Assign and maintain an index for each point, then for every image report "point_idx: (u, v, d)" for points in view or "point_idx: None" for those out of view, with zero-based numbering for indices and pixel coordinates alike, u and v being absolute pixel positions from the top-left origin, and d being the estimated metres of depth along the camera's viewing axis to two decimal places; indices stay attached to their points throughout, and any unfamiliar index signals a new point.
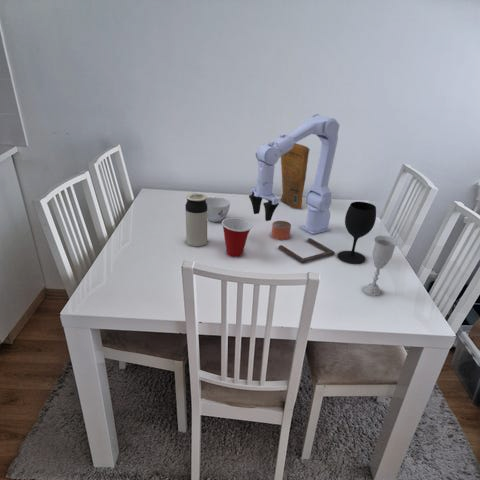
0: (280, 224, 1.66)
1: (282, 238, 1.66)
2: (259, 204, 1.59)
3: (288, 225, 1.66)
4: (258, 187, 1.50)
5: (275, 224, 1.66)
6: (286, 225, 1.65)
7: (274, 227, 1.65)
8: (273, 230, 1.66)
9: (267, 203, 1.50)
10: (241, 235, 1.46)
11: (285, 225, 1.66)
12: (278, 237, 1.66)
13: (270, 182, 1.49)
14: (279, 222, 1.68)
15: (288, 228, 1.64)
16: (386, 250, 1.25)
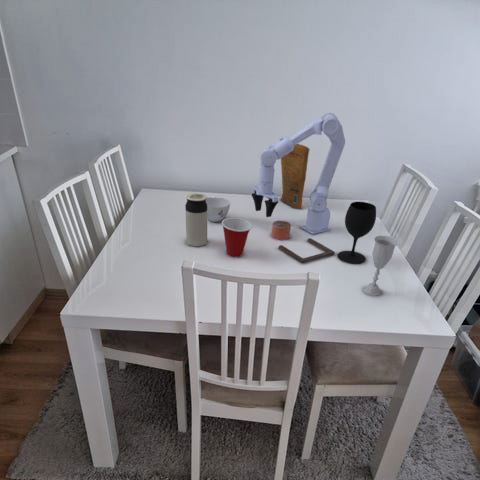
0: (280, 224, 1.66)
1: (282, 238, 1.66)
2: (260, 202, 1.76)
3: (288, 225, 1.66)
4: (260, 186, 1.67)
5: (275, 224, 1.66)
6: (286, 225, 1.65)
7: (274, 227, 1.65)
8: (273, 230, 1.66)
9: (268, 201, 1.66)
10: (241, 235, 1.46)
11: (285, 225, 1.66)
12: (278, 237, 1.66)
13: (271, 182, 1.65)
14: (279, 222, 1.68)
15: (288, 228, 1.64)
16: (386, 250, 1.25)
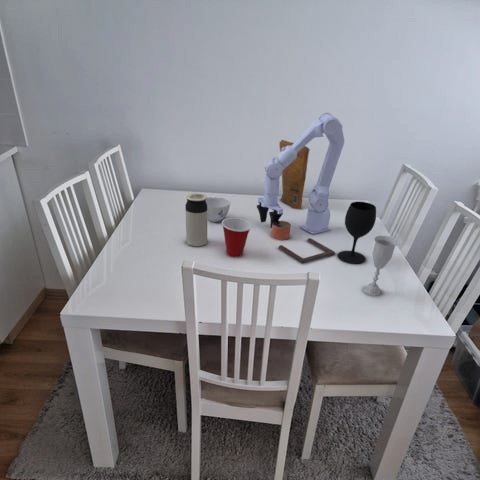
0: (280, 224, 1.66)
1: (282, 238, 1.66)
2: (266, 213, 1.75)
3: (288, 225, 1.66)
4: (265, 198, 1.66)
5: (275, 224, 1.66)
6: (286, 225, 1.65)
7: (274, 227, 1.65)
8: (273, 230, 1.66)
9: (272, 212, 1.66)
10: (241, 235, 1.46)
11: (285, 225, 1.66)
12: (278, 237, 1.66)
13: (276, 194, 1.64)
14: (279, 222, 1.68)
15: (288, 228, 1.64)
16: (386, 250, 1.25)
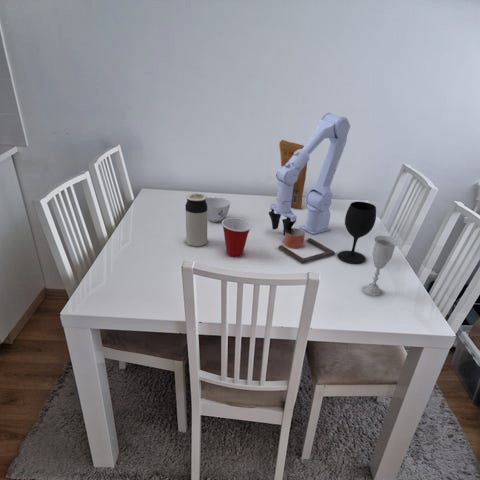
0: (293, 232, 1.60)
1: (295, 246, 1.60)
2: (278, 220, 1.69)
3: (302, 233, 1.60)
4: (277, 205, 1.60)
5: (288, 232, 1.60)
6: (300, 233, 1.60)
7: (287, 235, 1.59)
8: (286, 238, 1.60)
9: (285, 220, 1.60)
10: (241, 235, 1.46)
11: (299, 232, 1.60)
12: (291, 245, 1.60)
13: (289, 200, 1.59)
14: (292, 230, 1.62)
15: (302, 236, 1.59)
16: (386, 250, 1.25)
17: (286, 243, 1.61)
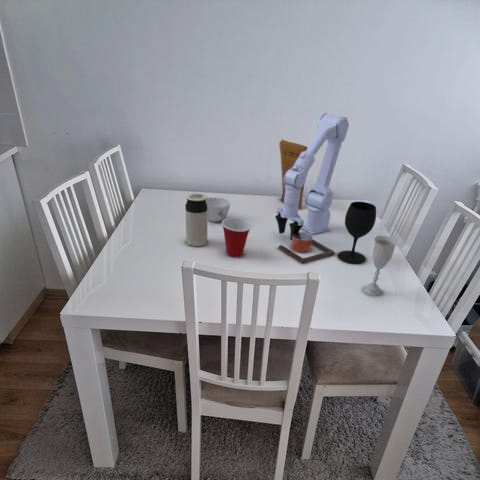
0: (301, 236, 1.57)
1: (303, 251, 1.57)
2: (284, 224, 1.66)
3: (309, 237, 1.57)
4: (285, 209, 1.58)
5: (296, 236, 1.57)
6: (307, 237, 1.57)
7: (295, 239, 1.56)
8: (293, 242, 1.57)
9: (293, 224, 1.57)
10: (241, 235, 1.46)
11: (306, 237, 1.57)
12: (299, 250, 1.57)
13: (296, 204, 1.56)
14: (300, 234, 1.59)
15: (309, 240, 1.56)
16: (386, 250, 1.25)
17: (293, 247, 1.58)
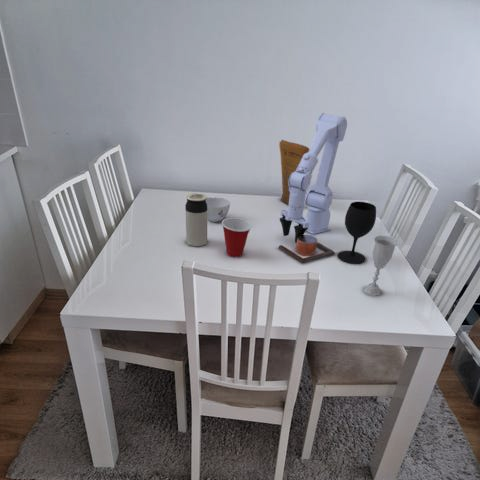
0: (306, 239, 1.55)
1: (308, 254, 1.55)
2: (289, 226, 1.64)
3: (314, 240, 1.55)
4: (289, 211, 1.56)
5: (300, 239, 1.55)
6: (312, 240, 1.55)
7: (299, 242, 1.54)
8: (298, 245, 1.55)
9: (298, 226, 1.56)
10: (241, 235, 1.46)
11: (311, 240, 1.55)
12: (304, 253, 1.55)
13: (301, 206, 1.54)
14: (304, 236, 1.57)
15: (314, 243, 1.54)
16: (386, 250, 1.25)
17: (298, 250, 1.56)
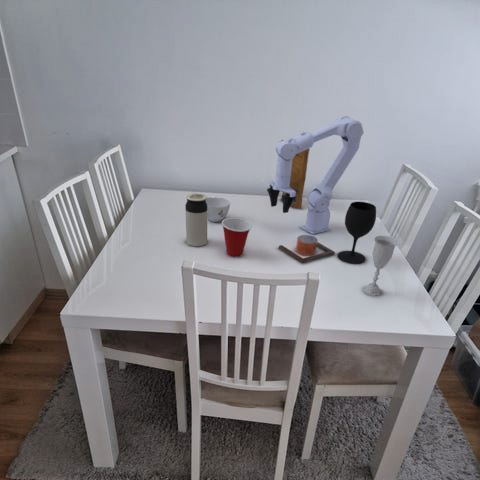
0: (306, 239, 1.56)
1: (308, 254, 1.55)
2: (276, 197, 1.69)
3: (314, 240, 1.55)
4: (276, 181, 1.60)
5: (300, 239, 1.55)
6: (312, 240, 1.55)
7: (299, 242, 1.54)
8: (298, 245, 1.55)
9: (285, 196, 1.60)
10: (241, 235, 1.46)
11: (311, 240, 1.55)
12: (304, 253, 1.55)
13: (288, 176, 1.58)
14: (304, 236, 1.57)
15: (314, 243, 1.54)
16: (386, 250, 1.25)
17: (298, 250, 1.56)
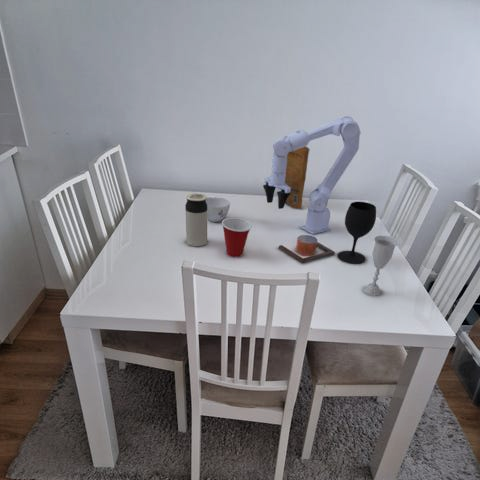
0: (306, 239, 1.56)
1: (308, 254, 1.55)
2: (272, 193, 1.72)
3: (314, 240, 1.55)
4: (272, 177, 1.63)
5: (300, 239, 1.55)
6: (312, 240, 1.55)
7: (299, 242, 1.54)
8: (298, 245, 1.55)
9: (280, 192, 1.63)
10: (241, 235, 1.46)
11: (311, 240, 1.55)
12: (304, 253, 1.55)
13: (283, 172, 1.62)
14: (304, 236, 1.57)
15: (314, 243, 1.54)
16: (386, 250, 1.25)
17: (298, 250, 1.56)
